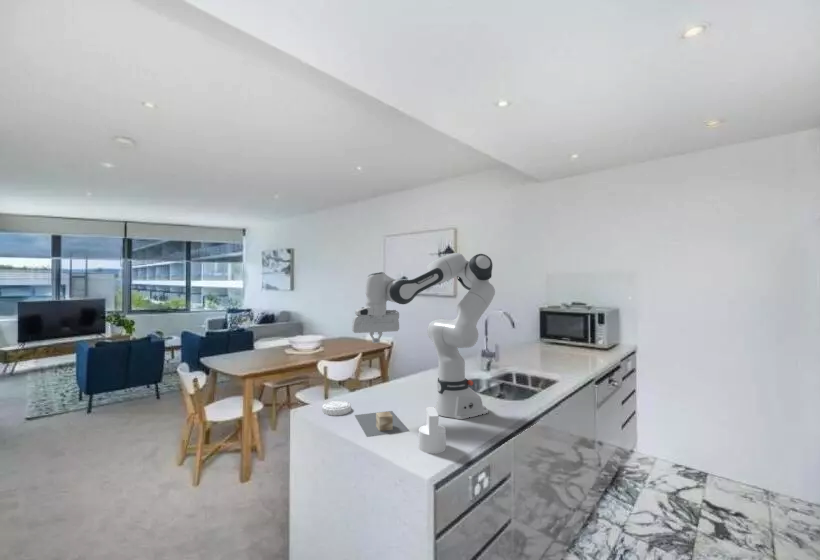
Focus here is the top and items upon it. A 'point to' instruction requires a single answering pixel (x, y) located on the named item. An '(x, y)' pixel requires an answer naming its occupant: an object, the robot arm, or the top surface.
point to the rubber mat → (370, 427)
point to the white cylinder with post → (432, 433)
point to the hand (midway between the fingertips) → (375, 342)
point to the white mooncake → (336, 408)
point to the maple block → (384, 421)
